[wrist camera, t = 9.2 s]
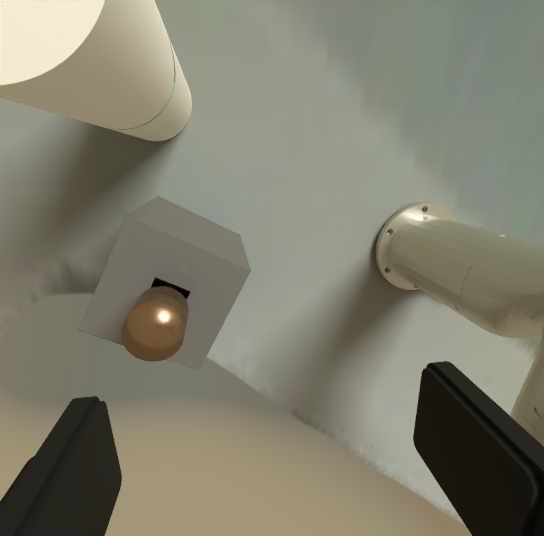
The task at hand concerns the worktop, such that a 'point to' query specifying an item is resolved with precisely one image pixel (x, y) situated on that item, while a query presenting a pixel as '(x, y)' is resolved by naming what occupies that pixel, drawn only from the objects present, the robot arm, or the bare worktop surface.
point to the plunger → (156, 323)
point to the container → (94, 64)
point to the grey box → (170, 274)
